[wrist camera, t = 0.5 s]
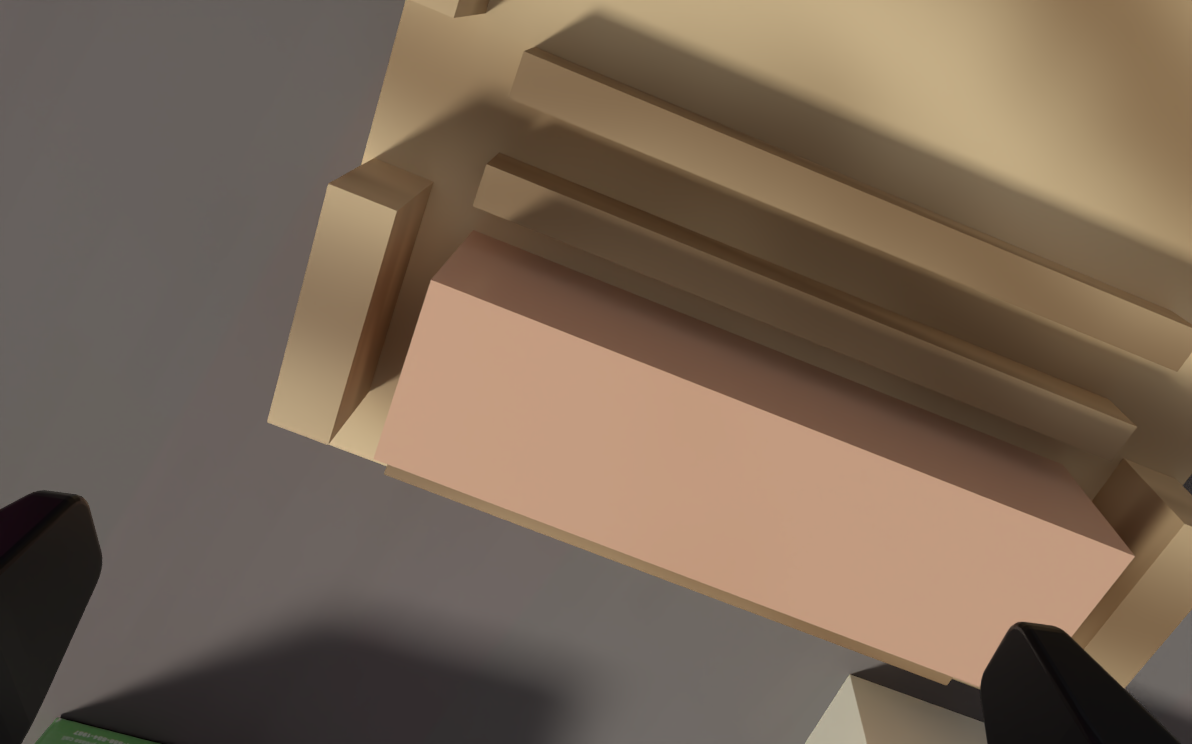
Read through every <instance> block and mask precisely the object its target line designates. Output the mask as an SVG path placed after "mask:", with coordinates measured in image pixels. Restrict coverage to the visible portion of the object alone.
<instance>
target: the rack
mask: <svg viewBox="0 0 1192 744" xmlns="http://www.w3.org/2000/svg"><path fill="white" fill-rule="evenodd" d="M473 230H475V231H477V232H480V233H482V234H485V235H487V236H490V237H492V238H495V239H497V240H500V241H502V242H505V243H507V244H510V245H512V246H515V247H517V248H520V249H523V250H525V251H528V252H530V253H533V254H535V255H538V256H540V257H543V258H545V259H548V260H550V261H553V262H555V263H558V264H560V265H563V266H565V267H568V268H570V269H573V270H575V271H578V272H580V273H583V274H585V275H588V276H590V277H593V278H595V279H598V280H600V281H603V282H605V283H608V284H610V285H613V286H615V287H618V288H620V289H623V290H625V291H628V292H631V293H633V294H636V295H638V296H641V297H643V298H646V299H648V300H651V301H653V302H656V303H658V304H661V305H663V306H666V307H668V308H671V309H673V310H676V311H678V312H681V313H683V314H686V315H688V316H691V317H693V318H696V319H698V320H701V321H703V322H706V323H708V324H711V325H713V326H716V327H718V328H721V329H723V330H726V331H728V332H731V333H734V334H736V335H739V336H741V337H744V338H746V339H749V340H751V341H754V342H756V343H759V344H761V345H764V346H766V347H769V348H771V349H774V350H776V351H779V352H781V353H784V354H786V355H789V356H791V357H794V358H796V359H799V360H801V361H804V362H806V363H809V364H811V365H814V366H816V367H819V368H821V369H824V370H826V371H829V372H831V373H834V374H836V375H839V376H842V377H844V378H847V379H849V380H852V381H854V382H857V383H859V384H862V385H864V386H867V387H869V388H872V389H874V390H877V391H879V392H882V393H884V394H887V395H889V396H892V397H894V398H897V399H899V400H902V401H904V402H907V403H909V404H912V405H914V406H917V407H919V408H922V409H924V410H927V411H929V412H932V413H934V414H937V415H939V416H942V417H944V418H947V419H950V420H952V421H955V422H957V423H960V424H962V425H965V426H967V427H970V428H972V429H975V430H977V431H980V432H982V433H985V434H987V435H990V436H992V437H995V438H997V439H1000V440H1002V441H1005V442H1007V443H1010V444H1012V445H1015V446H1017V447H1020V448H1022V449H1025V450H1027V451H1030V452H1032V453H1035V454H1037V455H1040V456H1042V457H1045V458H1047V459H1050V460H1053V461H1055V462H1058V463H1060V464H1062V465H1063V466H1064V467H1065V468H1066V470H1067V471H1068V472H1069V473H1070V475H1071V476H1072V477H1073V478H1074V480H1075V481H1076V482H1077V483H1078V485H1079V486H1080V487H1081V489H1082V490H1083V491H1084V492H1085V494H1086V495H1087V496H1088V497H1089V499H1090V500H1091V501H1092V502H1093V504H1094V505H1095V506H1096V507H1097V509H1098V510H1099V511H1100V512H1101V514H1102V515H1103V516H1104V518H1105V519H1106V520H1107V521H1108V523H1109V524H1110V525H1111V526H1112V528H1113V529H1114V530H1115V531H1116V533H1117V534H1118V535H1119V536H1120V538H1121V539H1122V540H1123V542H1124V543H1125V544H1126V545H1127V547H1128V548H1129V549H1130V550H1131V552H1132V553H1133V554H1134V555H1135V557H1134V558H1133V560H1132V561H1131V562H1130V564H1129V565H1128V566H1127V567H1126V569H1125V570H1124V571H1123V572H1122V574H1121V575H1120V576H1119V577H1118V579H1117V580H1116V581H1115V583H1114V584H1113V585H1112V586H1111V588H1110V589H1109V590H1108V591H1107V593H1106V594H1105V595H1104V596H1103V598H1102V599H1101V600H1100V602H1099V603H1098V604H1097V605H1096V607H1095V608H1094V609H1093V610H1092V612H1091V613H1090V614H1089V615H1088V617H1087V618H1086V619H1085V621H1084V622H1083V623H1082V624H1081V626H1080V627H1079V628H1078V629H1077V631H1076V632H1075V633H1074V634H1073V636H1072V638H1073V639H1074V640H1075V641H1076V642H1077V643H1078V644H1079V645H1080V646H1081V647H1082V648H1083V649H1084V650H1085V651H1086V652H1087V653H1088V654H1089V655H1090V656H1091V657H1092V658H1093V659H1094V660H1095V661H1096V662H1097V663H1099V664H1100V665H1101V666H1102V667H1103V668H1104V669H1105V670H1106V671H1107V672H1108V673H1109V674H1110V675H1111V676H1112V677H1113V678H1114V679H1115V680H1116V681H1117V682H1118V683H1119V684H1120V685H1121V686H1122V687H1123V688H1125V687H1126V686H1127V685H1128V684H1129V682H1130V681H1131V680H1132V679H1133V678H1134V677H1135V675H1136V674H1137V673H1138V672H1139V671H1140V669H1141V668H1142V667H1143V666H1144V665H1145V664H1146V662H1147V661H1148V660H1149V659H1150V658H1151V657H1152V655H1153V654H1154V653H1155V652H1156V651H1157V649H1158V648H1159V647H1160V646H1161V645H1162V644H1163V642H1164V641H1165V640H1166V639H1167V638H1168V637H1169V635H1170V634H1171V633H1172V632H1173V631H1174V629H1175V628H1176V627H1177V626H1178V625H1179V624H1180V622H1181V621H1182V620H1183V619H1184V618H1185V617H1186V615H1187V614H1188V613H1189V612H1190V611H1191V610H1192V495H1191V494H1190V493H1189V492H1188V491H1187V490H1186V489H1185V488H1184V487H1183V485H1184V483H1185V482H1186V481H1187V479H1188V478H1189V477H1190V476H1191V474H1192V0H406V1H405V5H404V9H403V12H402V16H401V20H400V23H399V27H398V31H397V35H396V38H395V42H394V46H393V49H392V53H391V57H390V60H389V64H388V68H387V72H386V75H385V79H384V83H383V86H382V90H381V94H380V97H379V101H378V105H377V109H376V112H375V116H374V120H373V123H372V127H371V131H370V134H369V138H368V142H367V146H366V149H365V153H364V157H363V160H362V164H361V166H359V167H357V168H355V169H354V170H352V171H350V172H348V173H347V174H345V175H343V176H341V177H339V178H338V179H336V180H334V181H332V182H331V183H329V184H328V187H327V191H326V195H325V199H324V203H323V207H322V211H321V214H320V218H319V222H318V226H317V230H316V234H315V238H314V242H313V246H312V249H311V253H310V257H309V261H308V265H307V269H306V273H305V277H304V281H303V285H302V288H301V292H300V296H299V300H298V304H297V308H296V312H295V316H294V320H293V323H292V327H291V331H290V335H289V339H288V343H287V347H286V351H285V355H284V359H283V362H282V366H281V370H280V374H279V378H278V382H277V386H276V390H275V394H274V397H273V401H272V405H271V409H270V413H269V417H268V421H267V422H268V423H271V424H274V425H276V426H279V427H282V428H284V429H287V430H290V431H292V432H295V433H298V434H300V435H303V436H306V437H308V438H311V439H314V440H316V441H319V442H322V443H324V444H327V445H332V446H334V447H337V448H340V449H342V450H345V451H348V452H350V453H353V454H356V455H358V456H361V457H364V458H366V459H369V460H372V461H374V462H377V463H380V464H382V465H385V466H387V467H386V470H385V473H384V475H387V476H390V477H392V478H395V479H398V480H400V481H403V482H406V483H408V484H411V485H414V486H416V487H419V488H422V489H424V490H427V491H430V492H432V493H435V494H438V495H440V496H443V497H446V498H448V499H451V500H454V501H456V502H459V503H462V504H464V505H467V506H470V507H472V508H475V509H478V510H480V511H483V512H486V513H488V514H491V515H494V516H496V517H499V518H502V519H504V520H507V521H510V522H512V523H515V524H518V525H520V526H523V527H526V528H528V529H531V530H534V531H536V532H539V533H542V534H544V535H547V536H550V537H552V538H555V539H558V540H560V541H563V542H566V543H568V544H571V545H574V546H576V547H579V548H582V549H584V550H587V551H589V552H592V553H595V554H597V555H600V556H603V557H605V558H608V559H611V560H613V561H616V562H619V563H621V564H624V565H627V566H629V567H632V568H635V569H637V570H640V571H643V572H645V573H648V574H651V575H653V576H656V577H659V578H661V579H664V580H667V581H669V582H672V583H675V584H677V585H680V586H683V587H685V588H688V589H691V590H693V591H696V592H699V593H701V594H704V595H707V596H709V597H712V598H715V599H717V600H720V601H723V602H725V603H728V604H731V605H733V606H736V607H739V608H741V609H744V610H747V611H749V612H752V613H755V614H757V615H760V616H763V617H765V618H768V619H771V620H773V621H776V622H779V623H781V624H784V625H786V626H789V627H792V628H794V629H797V630H800V631H802V632H805V633H808V634H810V635H813V636H816V637H818V638H821V639H824V640H826V641H829V642H832V643H834V644H837V645H840V646H842V647H845V648H848V649H850V650H853V651H856V652H858V653H861V654H864V655H866V656H869V657H872V658H874V659H877V660H880V661H882V662H885V663H888V664H890V665H893V666H896V667H898V668H901V669H904V670H906V671H909V672H912V673H914V674H917V675H920V676H922V677H925V678H928V679H930V680H933V681H936V682H938V683H941V684H944V685H946V686H947V685H948V683H949V682H950V681H951V679H954V680H956V681H959V682H962V683H964V684H967V685H970V686H972V687H975V688H977V689H980V687H978V686H975V685H972V684H970V683H967V682H964V681H962V680H959V679H956V678H954V677H951V676H948V675H946V674H943V673H940V672H938V671H935V670H932V669H930V668H927V667H924V666H922V665H919V664H917V663H914V662H911V661H909V660H906V659H903V658H901V657H898V656H895V655H893V654H890V653H887V652H885V651H882V650H879V649H877V648H874V647H871V646H869V645H866V644H863V643H861V642H858V641H855V640H853V639H850V638H847V637H845V636H842V635H839V634H837V633H834V632H832V631H829V630H826V629H824V628H821V627H818V626H816V625H813V624H810V623H808V622H805V621H802V620H800V619H797V618H794V617H792V616H789V615H786V614H784V613H781V612H778V611H776V610H773V609H770V608H768V607H765V606H762V605H760V604H757V603H754V602H752V601H749V600H747V599H744V598H741V597H739V596H736V595H733V594H731V593H728V592H725V591H723V590H720V589H717V588H715V587H712V586H709V585H707V584H704V583H701V582H699V581H696V580H693V579H691V578H688V577H685V576H683V575H680V574H677V573H675V572H672V571H670V570H667V569H664V568H662V567H659V566H656V565H654V564H651V563H648V562H646V561H643V560H640V559H638V558H635V557H632V556H630V555H627V554H624V553H622V552H619V551H616V550H614V549H611V548H608V547H606V546H603V545H600V544H598V543H595V542H592V541H590V540H587V539H585V538H582V537H579V536H577V535H574V534H571V533H569V532H566V531H563V530H561V529H558V528H555V527H553V526H550V525H547V524H545V523H542V522H539V521H537V520H534V519H531V518H529V517H526V516H523V515H521V514H518V513H515V512H513V511H510V510H508V509H505V508H502V507H500V506H497V505H494V504H492V503H489V502H486V501H484V500H481V499H478V498H476V497H473V496H470V495H468V494H465V493H462V492H460V491H457V490H454V489H452V488H449V487H446V486H444V485H441V484H438V483H436V482H433V481H430V480H428V479H425V478H423V477H420V476H417V475H415V474H412V473H409V472H407V471H404V470H401V469H399V468H396V467H393V466H391V465H388V464H385V463H383V462H380V461H377V460H375V459H374V455H375V452H376V449H377V446H378V443H379V440H380V437H381V434H382V431H383V427H384V424H385V421H386V418H387V415H388V412H389V409H390V406H391V403H392V399H393V396H394V393H395V390H396V387H397V384H398V381H399V378H400V375H401V371H402V368H403V365H404V362H405V359H406V356H407V353H408V350H409V347H410V343H411V340H412V337H413V334H414V331H415V328H416V325H417V322H418V319H419V315H420V312H421V309H422V306H423V303H424V300H425V297H426V294H427V291H428V287H429V284H430V281H431V279H432V278H433V277H434V276H435V274H436V273H437V272H438V271H439V270H440V269H441V267H442V266H443V265H444V264H445V263H446V261H447V260H448V259H449V258H450V257H451V256H452V254H453V253H454V252H455V251H456V250H457V249H458V247H459V246H460V245H461V244H462V243H463V242H464V240H465V239H466V238H467V237H468V236H469V234H470V233H471V232H472V231H473Z"/></svg>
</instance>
